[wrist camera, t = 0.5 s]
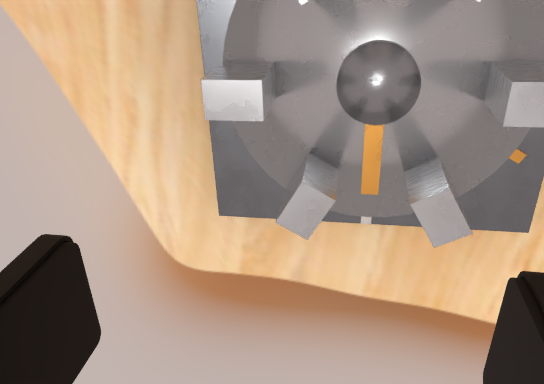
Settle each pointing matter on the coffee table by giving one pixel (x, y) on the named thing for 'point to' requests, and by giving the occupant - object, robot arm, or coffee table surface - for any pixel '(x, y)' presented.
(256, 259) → the coffee table surface
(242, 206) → the base plate
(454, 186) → the gear wheel
